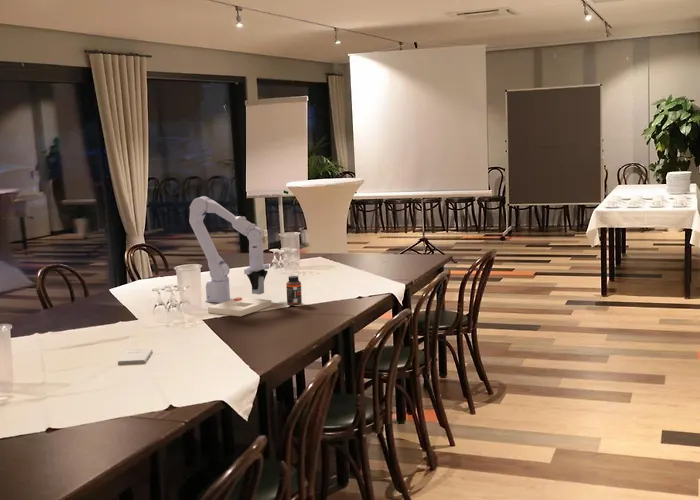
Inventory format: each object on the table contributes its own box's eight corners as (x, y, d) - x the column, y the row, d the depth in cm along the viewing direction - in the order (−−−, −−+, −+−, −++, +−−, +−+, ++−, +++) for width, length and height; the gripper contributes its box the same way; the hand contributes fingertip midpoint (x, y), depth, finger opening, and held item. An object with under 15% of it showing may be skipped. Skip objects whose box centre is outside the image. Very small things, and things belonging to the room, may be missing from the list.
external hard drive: (118, 366, 236) (126, 354, 248) (145, 365, 236) (152, 353, 249) (117, 361, 236) (126, 349, 248) (144, 359, 236) (152, 348, 248)
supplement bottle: (299, 305, 309) (298, 277, 307) (285, 305, 310) (284, 277, 308) (303, 302, 314) (302, 275, 313) (289, 302, 316) (288, 275, 314)
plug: (251, 293, 320) (251, 275, 319) (256, 292, 323) (255, 273, 322) (259, 294, 318) (259, 275, 317) (264, 293, 321) (263, 274, 320)
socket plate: (208, 312, 302) (207, 305, 301) (240, 302, 319) (239, 295, 318) (240, 316, 294) (240, 308, 293) (271, 305, 311) (271, 298, 310)
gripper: (253, 259, 310) (254, 292, 312) (274, 254, 323) (275, 286, 325) (239, 258, 314) (240, 291, 316) (261, 253, 326) (262, 284, 328)
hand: (257, 288), depth 320 cm, fingers closed on plug, 3 cm apart
